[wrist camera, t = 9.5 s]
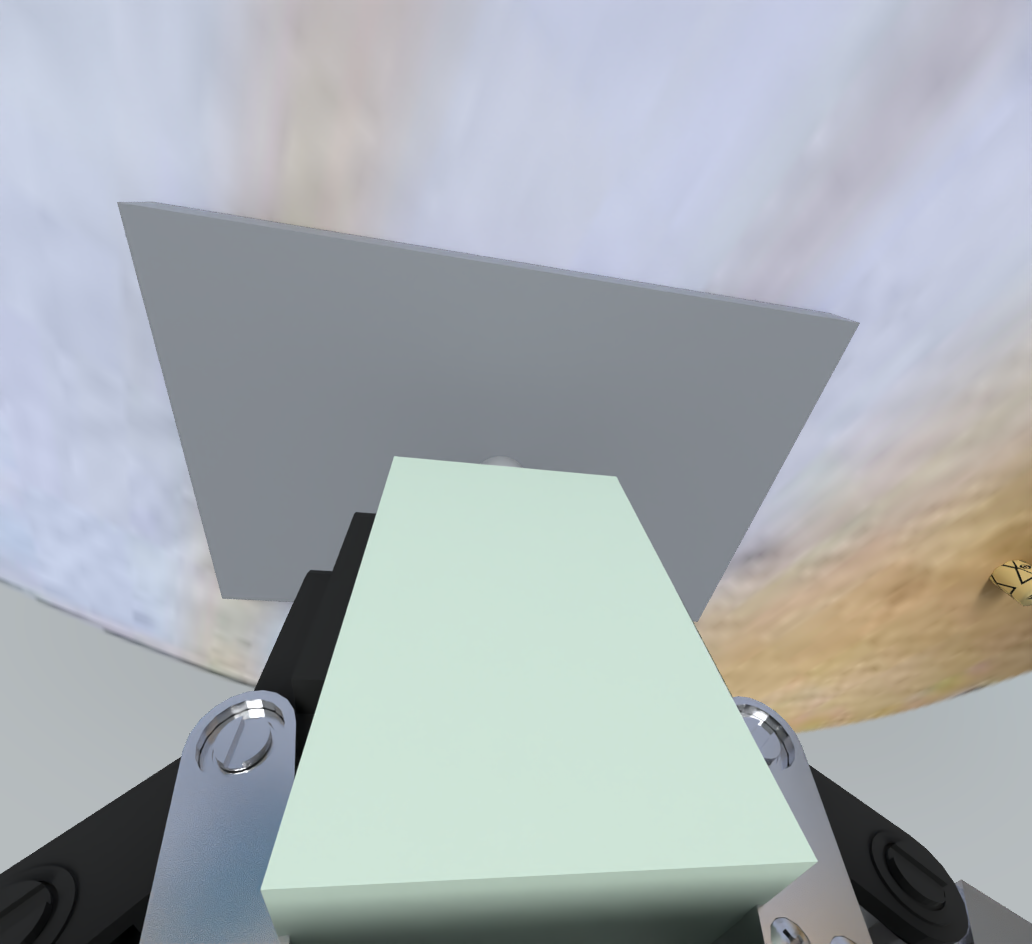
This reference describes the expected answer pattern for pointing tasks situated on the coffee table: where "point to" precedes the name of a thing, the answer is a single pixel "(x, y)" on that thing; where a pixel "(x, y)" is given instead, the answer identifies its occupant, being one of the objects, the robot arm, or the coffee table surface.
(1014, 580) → the dice set
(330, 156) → the coffee table surface
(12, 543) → the coffee table surface
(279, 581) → the pin plate
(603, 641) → the block
